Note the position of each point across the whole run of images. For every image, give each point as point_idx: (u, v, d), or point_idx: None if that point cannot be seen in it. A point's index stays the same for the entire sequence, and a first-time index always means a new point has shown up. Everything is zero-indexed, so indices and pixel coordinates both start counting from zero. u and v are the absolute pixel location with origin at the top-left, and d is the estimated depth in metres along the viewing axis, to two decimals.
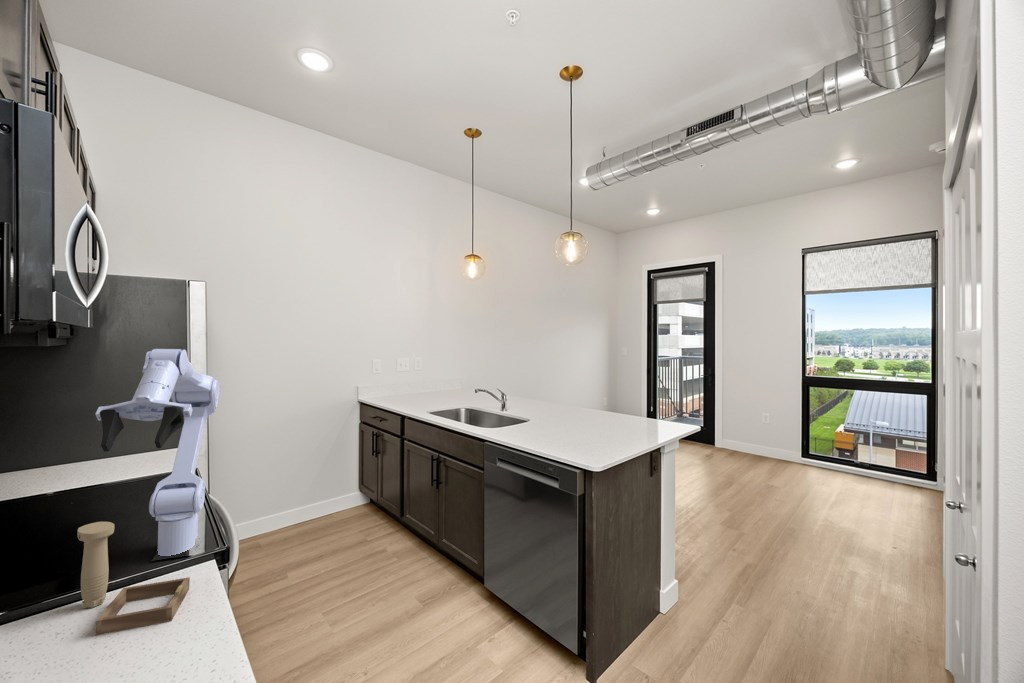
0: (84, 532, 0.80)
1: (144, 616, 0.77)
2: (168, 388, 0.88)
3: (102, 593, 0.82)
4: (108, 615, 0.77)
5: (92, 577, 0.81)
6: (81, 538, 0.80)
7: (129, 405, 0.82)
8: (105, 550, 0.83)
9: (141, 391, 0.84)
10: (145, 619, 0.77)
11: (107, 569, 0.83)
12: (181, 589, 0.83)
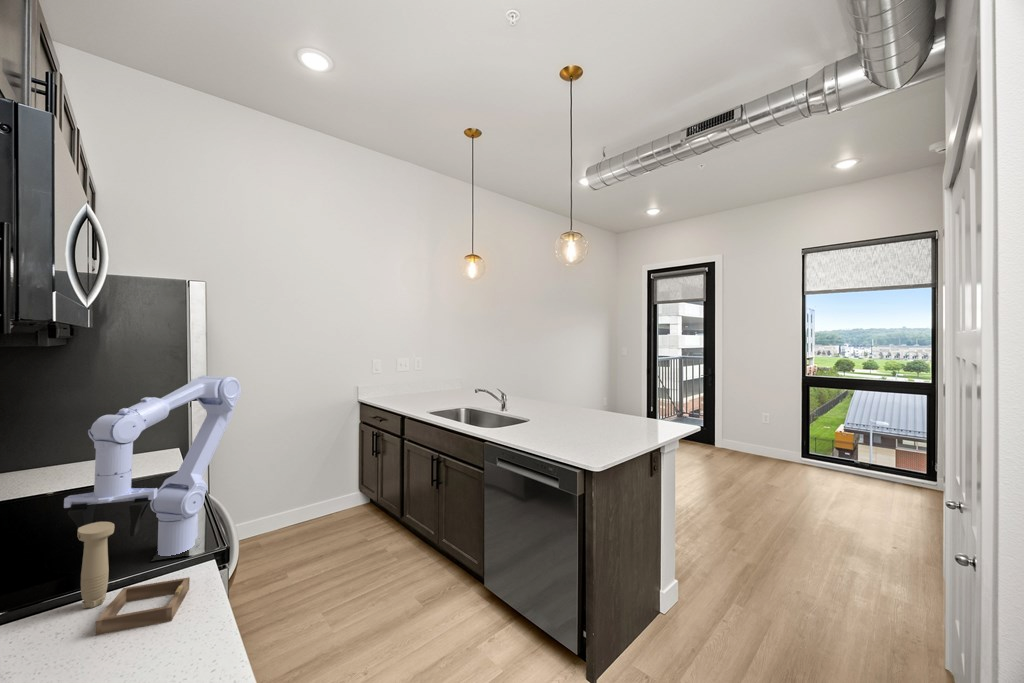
0: (84, 532, 0.80)
1: (144, 616, 0.77)
2: (127, 473, 0.89)
3: (102, 593, 0.82)
4: (108, 615, 0.77)
5: (92, 577, 0.81)
6: (81, 538, 0.80)
7: None
8: (105, 550, 0.83)
9: (100, 486, 0.86)
10: (145, 619, 0.77)
11: (107, 569, 0.83)
12: (181, 589, 0.83)
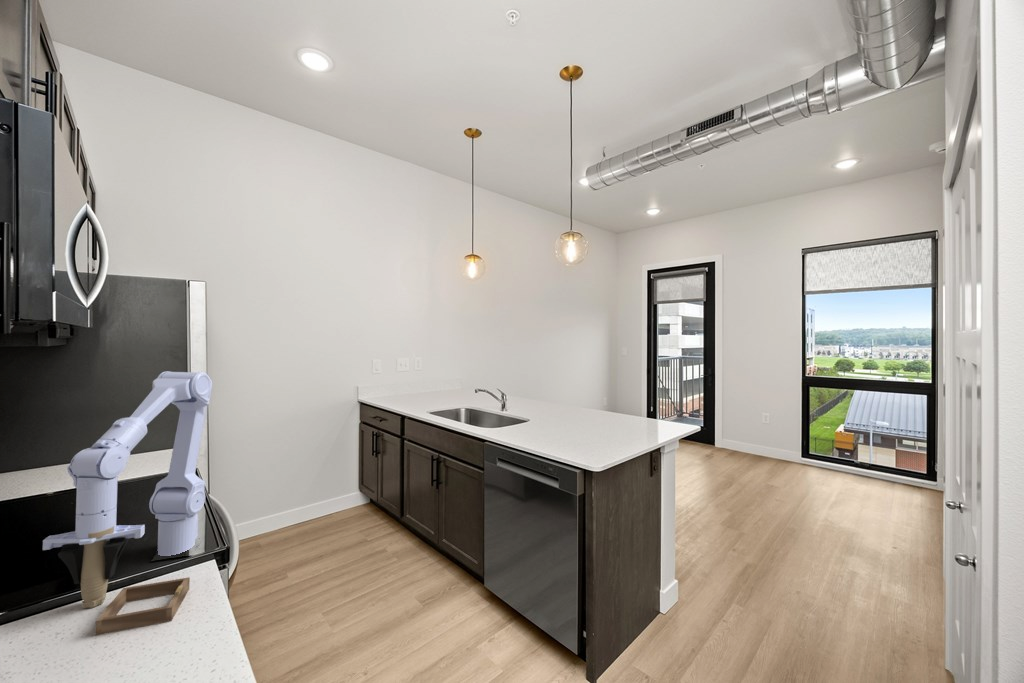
0: None
1: (144, 616, 0.77)
2: (111, 511, 0.83)
3: (102, 593, 0.82)
4: (108, 615, 0.77)
5: (92, 577, 0.81)
6: None
7: None
8: None
9: (82, 527, 0.80)
10: (145, 619, 0.77)
11: None
12: (181, 589, 0.83)
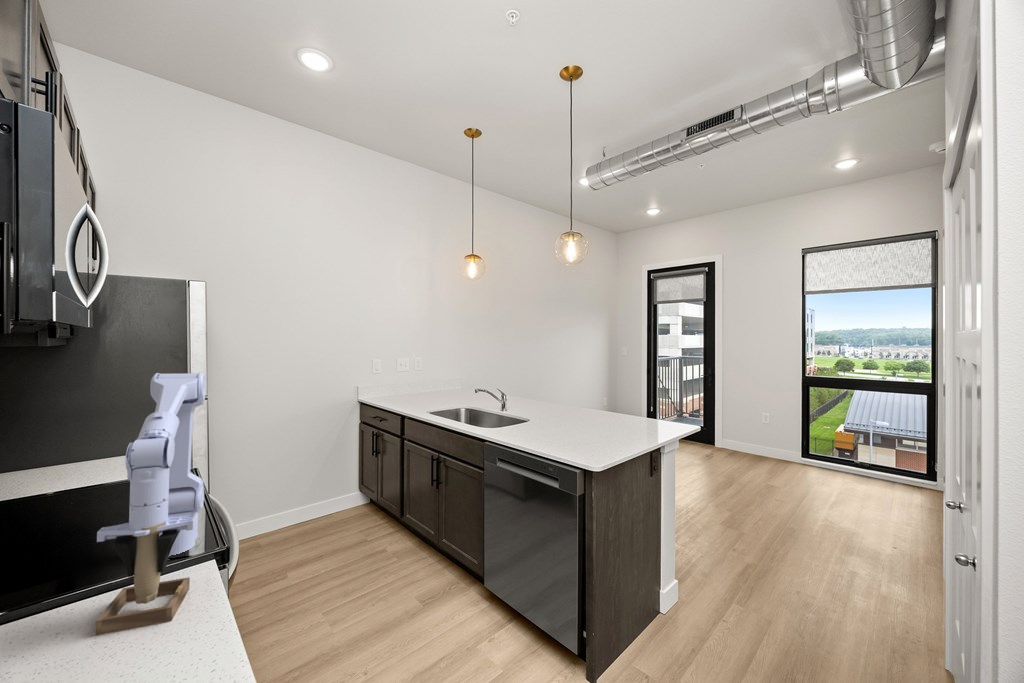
0: None
1: (144, 616, 0.77)
2: (164, 502, 0.81)
3: (155, 589, 0.81)
4: (108, 615, 0.77)
5: (145, 572, 0.79)
6: None
7: None
8: (157, 545, 0.81)
9: (136, 518, 0.78)
10: (145, 619, 0.77)
11: None
12: (181, 589, 0.83)
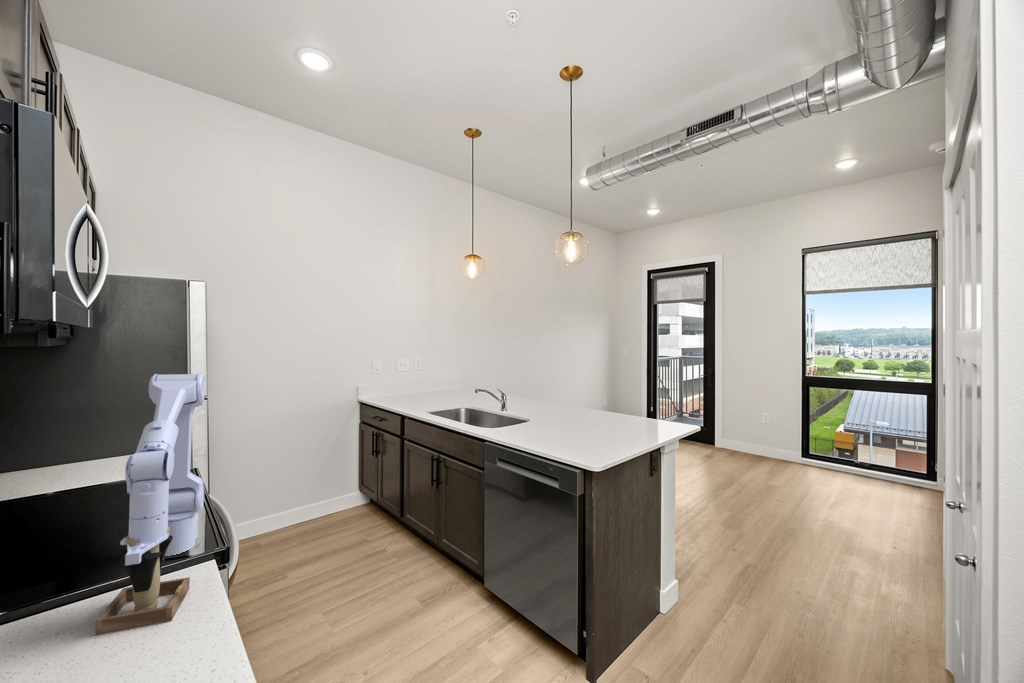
0: None
1: (144, 616, 0.77)
2: (135, 520, 0.78)
3: (137, 604, 0.79)
4: (108, 615, 0.77)
5: None
6: None
7: None
8: None
9: None
10: (145, 619, 0.77)
11: None
12: (181, 589, 0.83)
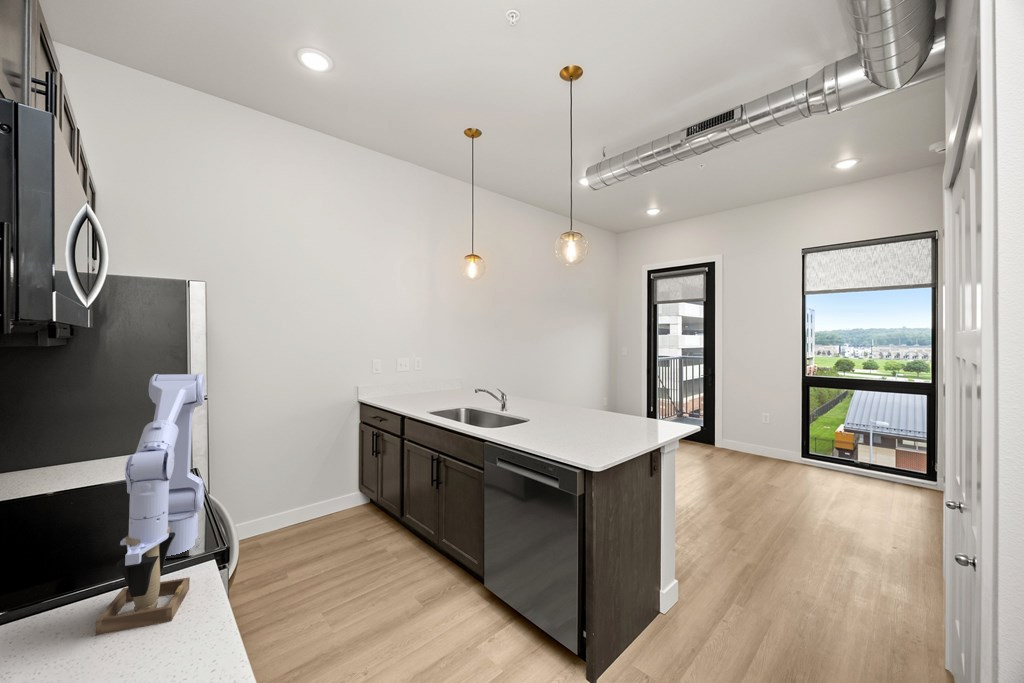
0: None
1: (144, 616, 0.77)
2: (135, 520, 0.78)
3: (137, 604, 0.79)
4: (108, 615, 0.77)
5: None
6: None
7: None
8: None
9: None
10: (145, 619, 0.77)
11: None
12: (181, 589, 0.83)
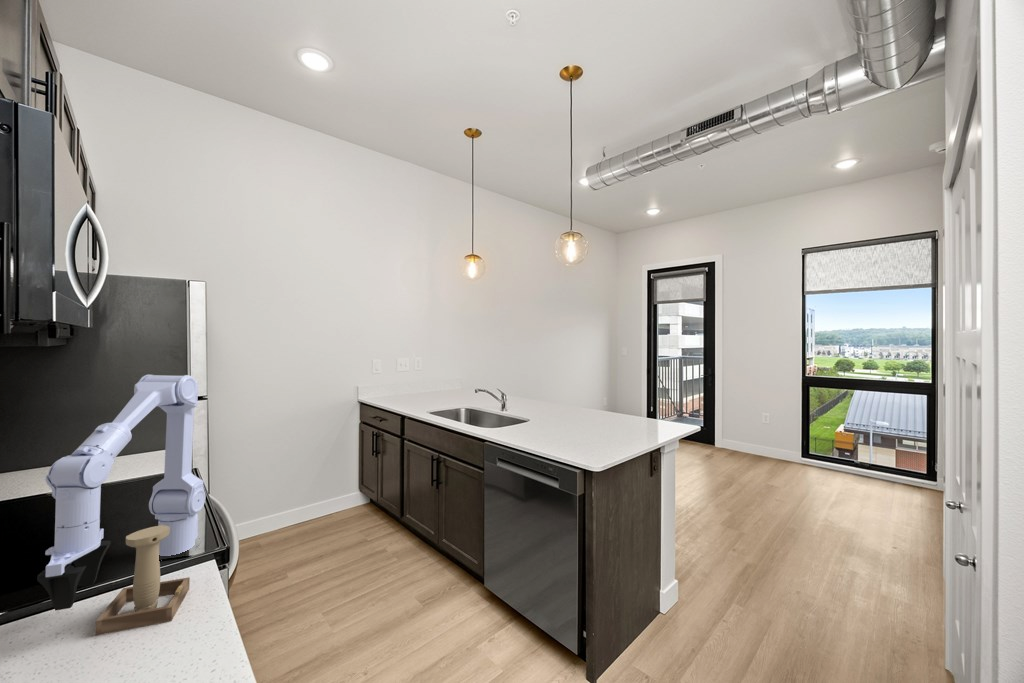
0: (137, 531, 0.81)
1: (144, 616, 0.77)
2: (61, 529, 0.74)
3: (137, 604, 0.79)
4: (108, 615, 0.77)
5: (133, 581, 0.80)
6: None
7: None
8: (141, 560, 0.79)
9: None
10: (145, 619, 0.77)
11: (142, 582, 0.79)
12: (181, 589, 0.83)
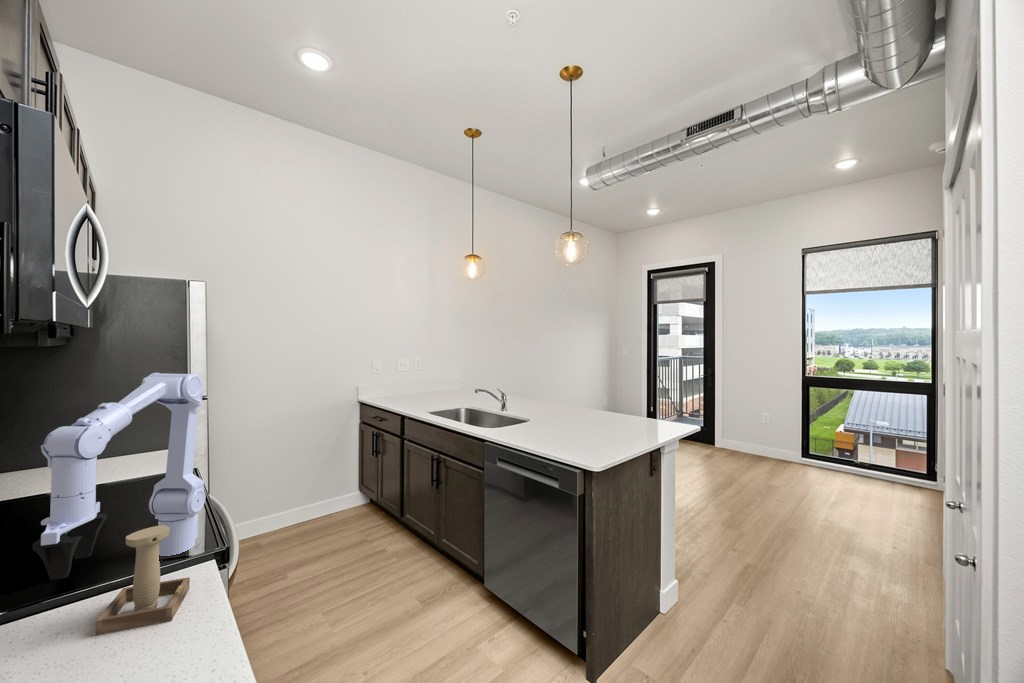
0: (137, 531, 0.81)
1: (144, 616, 0.77)
2: (56, 499, 0.74)
3: (137, 604, 0.79)
4: (108, 615, 0.77)
5: (133, 581, 0.80)
6: None
7: None
8: (141, 560, 0.79)
9: None
10: (145, 619, 0.77)
11: (142, 582, 0.79)
12: (181, 589, 0.83)
